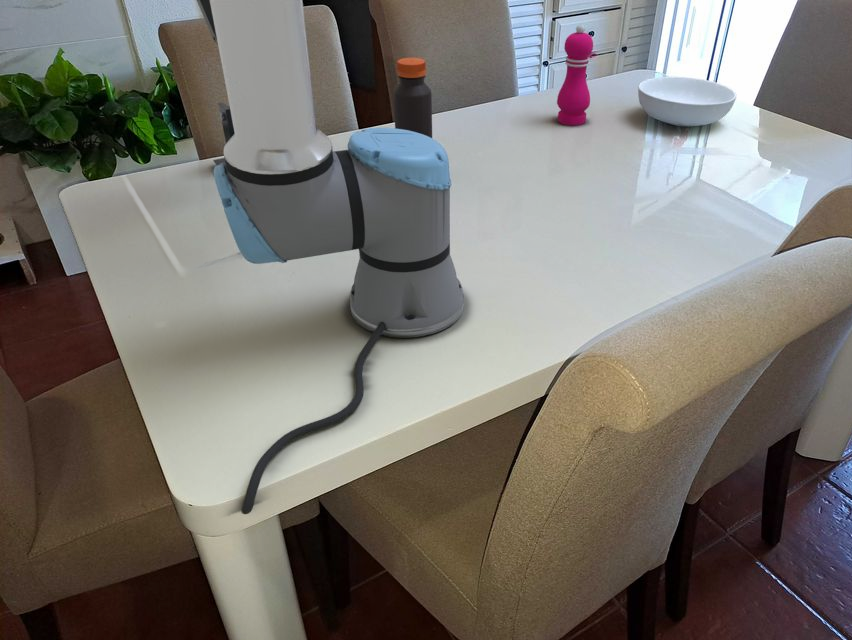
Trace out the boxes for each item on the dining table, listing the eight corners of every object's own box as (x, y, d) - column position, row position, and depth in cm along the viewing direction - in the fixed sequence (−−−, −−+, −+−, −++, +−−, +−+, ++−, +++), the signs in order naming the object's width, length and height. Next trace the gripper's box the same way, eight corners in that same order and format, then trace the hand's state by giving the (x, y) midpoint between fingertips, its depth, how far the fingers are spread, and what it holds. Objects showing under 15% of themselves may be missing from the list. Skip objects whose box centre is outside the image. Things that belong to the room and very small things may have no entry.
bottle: (394, 166, 135) (388, 57, 123) (428, 163, 136) (426, 55, 124) (400, 180, 130) (395, 67, 118) (436, 177, 131) (434, 65, 119)
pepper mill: (548, 120, 157) (556, 24, 145) (569, 113, 161) (578, 19, 149) (573, 128, 153) (583, 30, 141) (594, 121, 157) (605, 24, 145)
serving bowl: (725, 141, 147) (733, 108, 143) (626, 128, 153) (630, 96, 149) (732, 112, 163) (740, 81, 159) (642, 101, 169) (646, 71, 165)
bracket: (283, 179, 130) (272, 109, 122) (235, 189, 126) (220, 118, 118) (260, 157, 138) (249, 91, 130) (214, 166, 134) (200, 98, 127)
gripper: (254, -83, 106) (278, 78, 120) (166, -79, 101) (201, 90, 114) (272, -79, 101) (294, 89, 115) (179, -75, 96) (215, 101, 109)
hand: (248, 89), depth 115 cm, fingers closed
